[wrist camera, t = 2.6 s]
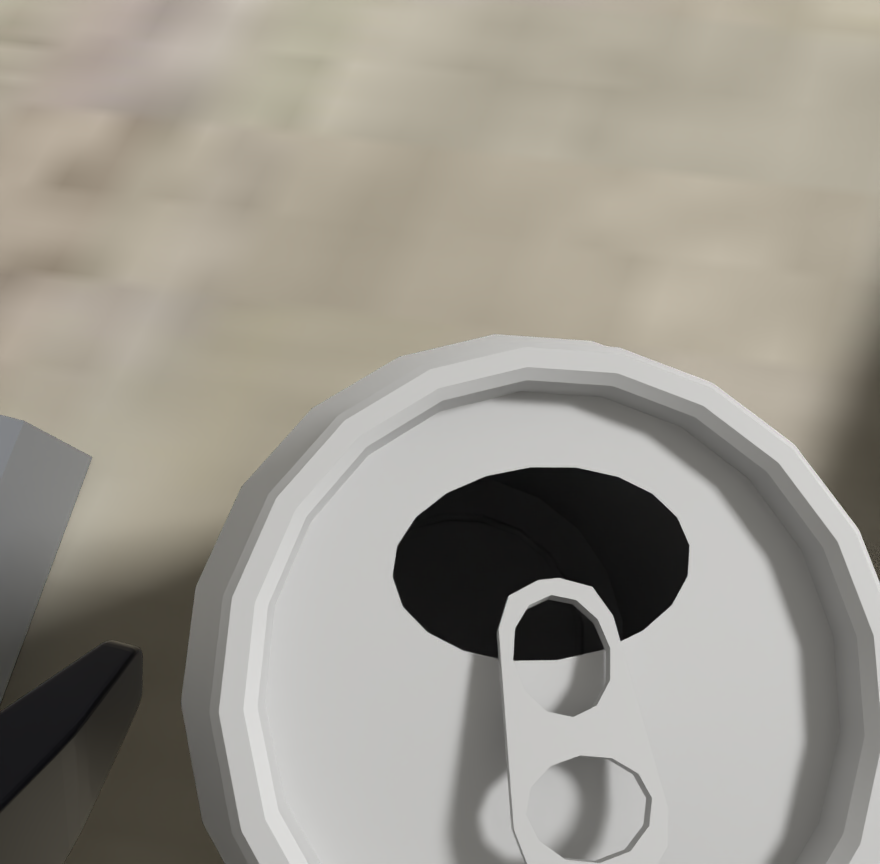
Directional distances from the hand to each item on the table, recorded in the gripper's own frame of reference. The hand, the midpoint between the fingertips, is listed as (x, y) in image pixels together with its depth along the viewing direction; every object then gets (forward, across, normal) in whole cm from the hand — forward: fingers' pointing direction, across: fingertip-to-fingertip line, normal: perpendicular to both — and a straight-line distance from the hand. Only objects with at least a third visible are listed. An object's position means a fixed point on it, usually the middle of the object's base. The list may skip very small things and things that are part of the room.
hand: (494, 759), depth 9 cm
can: (+7, 0, +6) cm, 9 cm away
